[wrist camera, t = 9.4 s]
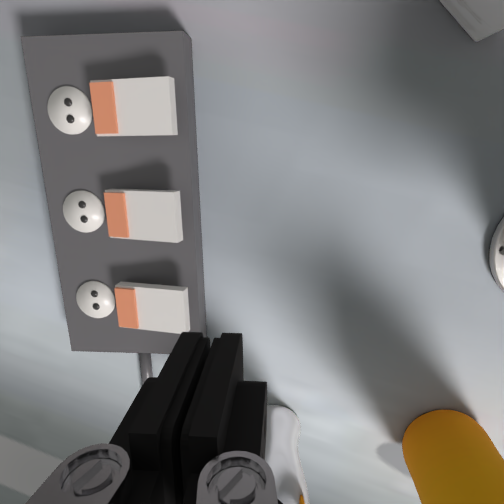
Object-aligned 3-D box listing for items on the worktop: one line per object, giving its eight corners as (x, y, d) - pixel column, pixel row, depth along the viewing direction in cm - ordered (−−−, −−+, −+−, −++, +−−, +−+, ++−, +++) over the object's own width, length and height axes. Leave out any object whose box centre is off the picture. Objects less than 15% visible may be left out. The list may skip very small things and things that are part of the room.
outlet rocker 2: (187, 287, 37) (181, 292, 35) (190, 329, 38) (184, 336, 37) (120, 281, 38) (113, 286, 37) (125, 322, 39) (118, 328, 38)
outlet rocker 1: (179, 190, 34) (172, 192, 33) (183, 240, 35) (175, 243, 34) (111, 188, 36) (102, 190, 35) (117, 235, 37) (108, 238, 36)
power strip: (191, 39, 35) (180, 27, 31) (210, 406, 46) (204, 429, 42) (41, 44, 36) (14, 34, 32) (95, 401, 47) (79, 423, 43)
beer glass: (233, 426, 46) (210, 556, 32) (271, 389, 45) (265, 509, 30) (277, 459, 47) (274, 600, 33) (317, 425, 45) (332, 558, 31)
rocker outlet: (174, 78, 32) (166, 75, 30) (177, 135, 33) (171, 135, 32) (97, 82, 33) (87, 80, 32) (103, 136, 34) (94, 136, 33)
